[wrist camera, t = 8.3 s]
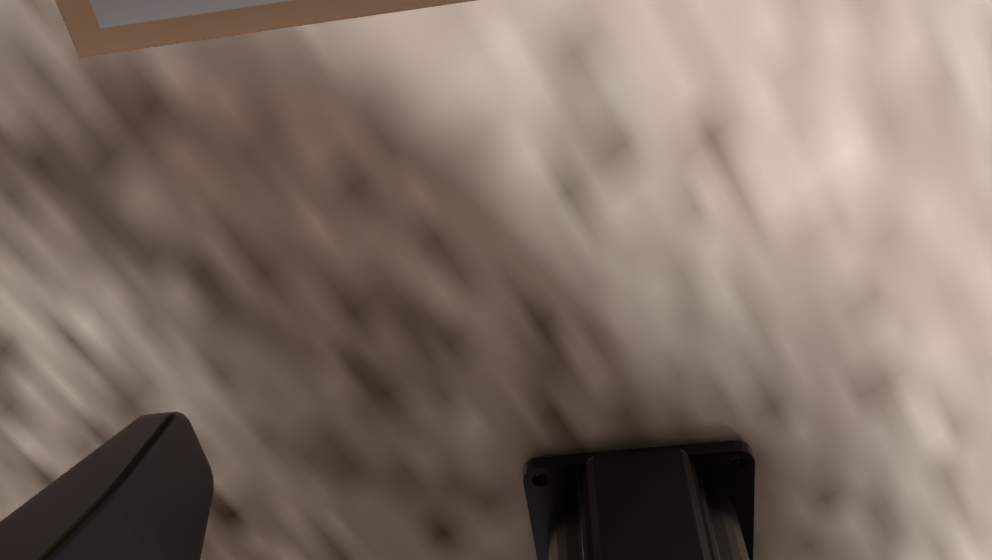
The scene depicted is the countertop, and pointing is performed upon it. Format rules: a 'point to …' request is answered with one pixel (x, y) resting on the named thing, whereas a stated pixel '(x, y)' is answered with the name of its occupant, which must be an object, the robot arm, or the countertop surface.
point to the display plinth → (204, 19)
